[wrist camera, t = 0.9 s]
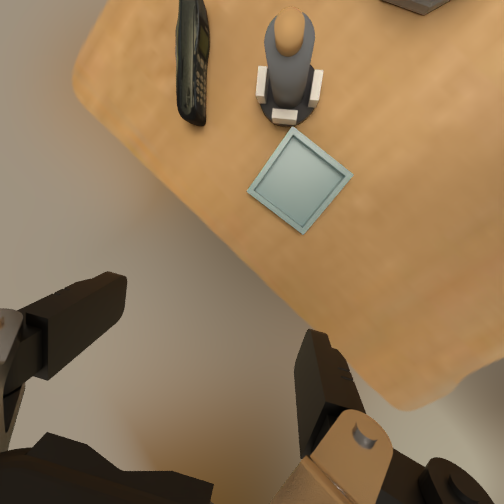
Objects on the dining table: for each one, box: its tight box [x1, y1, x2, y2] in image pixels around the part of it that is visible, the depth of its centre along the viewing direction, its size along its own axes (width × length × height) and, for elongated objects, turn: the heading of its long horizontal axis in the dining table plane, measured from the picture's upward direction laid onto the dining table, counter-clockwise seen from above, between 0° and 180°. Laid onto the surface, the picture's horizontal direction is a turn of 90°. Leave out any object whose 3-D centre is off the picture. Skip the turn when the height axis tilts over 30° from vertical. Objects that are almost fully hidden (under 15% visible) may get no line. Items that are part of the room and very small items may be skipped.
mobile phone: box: [175, 0, 209, 126], centre depth 30 cm, size 5×3×15 cm
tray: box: [247, 126, 353, 235], centre depth 34 cm, size 10×10×2 cm
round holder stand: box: [256, 65, 324, 127], centre depth 30 cm, size 8×8×4 cm
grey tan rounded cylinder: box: [264, 7, 315, 110], centre depth 24 cm, size 4×4×14 cm
